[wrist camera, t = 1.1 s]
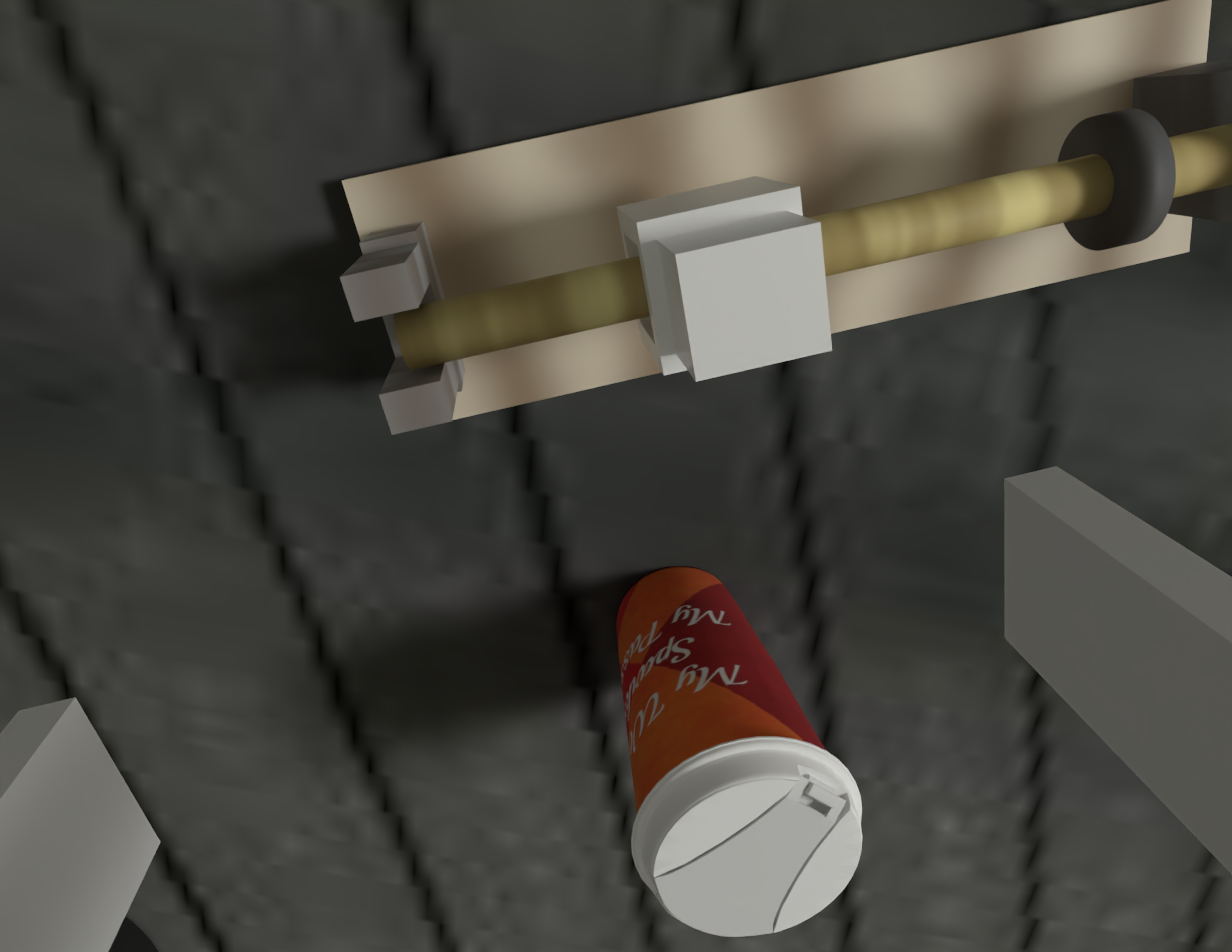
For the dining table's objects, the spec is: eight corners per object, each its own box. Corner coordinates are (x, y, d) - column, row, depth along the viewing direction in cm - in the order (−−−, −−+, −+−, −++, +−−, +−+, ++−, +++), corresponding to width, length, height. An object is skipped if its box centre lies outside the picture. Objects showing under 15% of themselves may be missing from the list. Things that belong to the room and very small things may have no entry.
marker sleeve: (641, 339, 31) (682, 405, 24) (616, 206, 29) (652, 235, 22) (771, 309, 31) (850, 366, 24) (755, 175, 29) (836, 194, 22)
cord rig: (421, 419, 36) (393, 522, 27) (346, 178, 32) (282, 203, 23) (1172, 248, 37) (1391, 291, 28) (1192, -6, 33) (1457, -54, 24)
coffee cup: (661, 514, 39) (746, 727, 25) (788, 596, 42) (926, 829, 28) (558, 641, 41) (584, 901, 27) (684, 711, 44) (766, 980, 30)
